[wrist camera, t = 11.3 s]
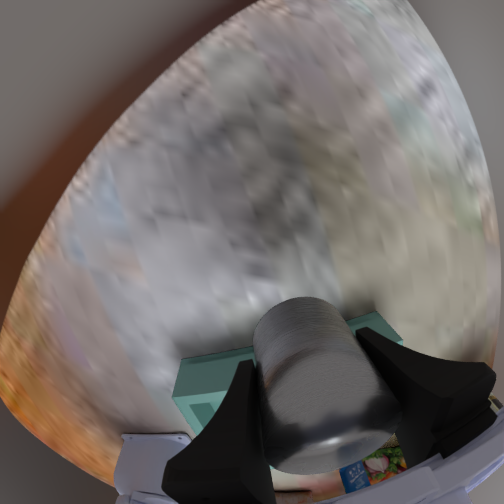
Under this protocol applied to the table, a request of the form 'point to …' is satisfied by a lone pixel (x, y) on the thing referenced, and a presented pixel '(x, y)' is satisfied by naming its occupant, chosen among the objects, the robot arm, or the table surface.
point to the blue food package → (373, 469)
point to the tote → (224, 367)
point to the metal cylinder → (318, 390)
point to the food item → (294, 498)
